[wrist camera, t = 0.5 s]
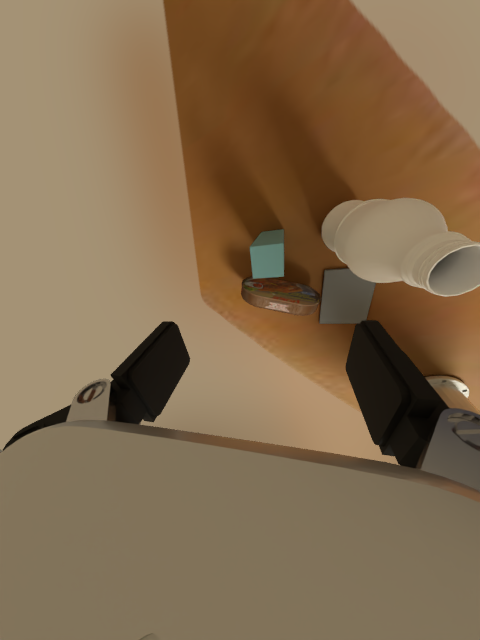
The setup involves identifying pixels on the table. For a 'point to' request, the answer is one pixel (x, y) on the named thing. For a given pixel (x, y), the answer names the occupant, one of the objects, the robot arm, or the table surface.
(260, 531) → the robot arm
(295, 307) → the tin
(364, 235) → the water bottle
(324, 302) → the mat
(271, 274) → the stick
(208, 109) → the table surface
